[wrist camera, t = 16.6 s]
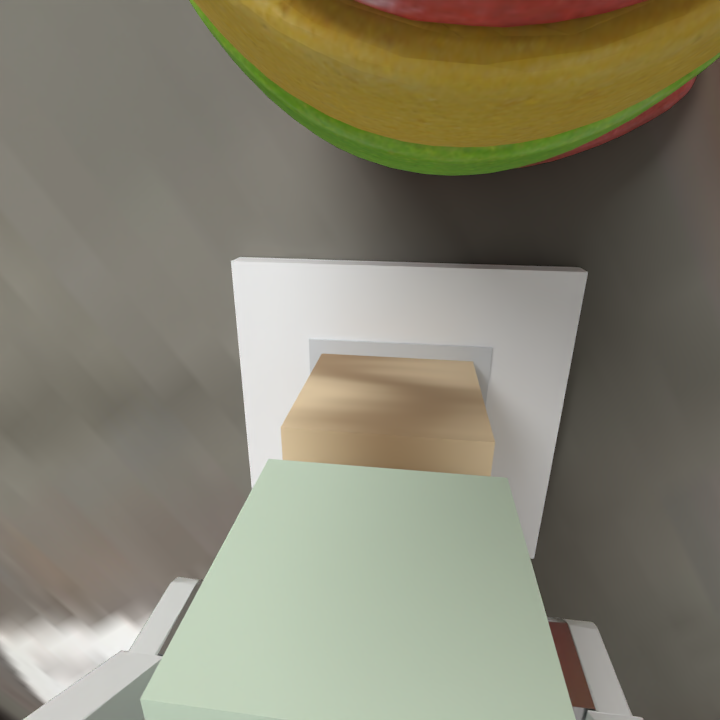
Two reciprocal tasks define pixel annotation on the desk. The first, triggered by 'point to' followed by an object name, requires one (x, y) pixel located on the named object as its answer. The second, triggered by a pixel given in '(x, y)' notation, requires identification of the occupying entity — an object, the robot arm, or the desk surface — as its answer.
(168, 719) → the sage block
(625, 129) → the stacking bear
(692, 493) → the desk surface
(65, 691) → the robot arm
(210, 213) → the desk surface
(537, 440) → the plate
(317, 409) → the oak block
